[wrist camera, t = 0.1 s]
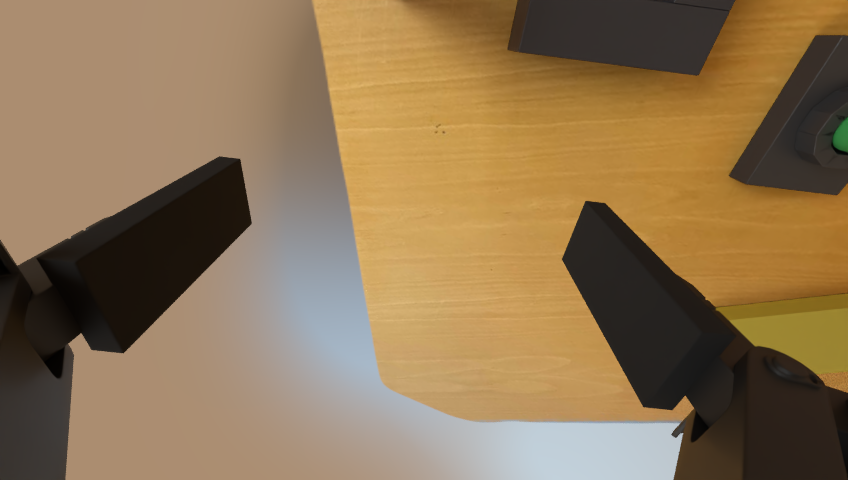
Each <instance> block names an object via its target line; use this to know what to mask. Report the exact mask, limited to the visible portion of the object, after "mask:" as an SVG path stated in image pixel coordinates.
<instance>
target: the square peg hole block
mask: <svg viewBox="0 0 848 480" xmlns="http://www.w3.org/2000/svg"><path fill="white" fill-rule="evenodd" d="M734 2H735V0H518V2H517V7H516V12H515V16H514V21H513V26H512V30H511V35H510V40H509V45H508V50H511V51H516V52H522V53H529V54H537V55H545V56H552V57H560V58H567V59H575V60H582V61H590V62H598V63H605V64H613V65H620V66H628V67H636V68H643V69H651V70H658V71H666V72H673V73H681V74H689V75H696V76H697V75H699V73H700V71H701V69H702V67H703V65H704V63H705V61H706V59H707V57H708V55H709V53H710V51H711V49H712V47H713V45H714V43H715V41H716V39H717V37H718V35H719V33H720V30H721V28H722V26H723V24H724V22H725V20H726V18H727V16H728V14H729V11H730V10H731V8H732V6H733V4H734Z"/></svg>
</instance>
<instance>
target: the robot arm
mask: <svg viewBox="0 0 848 480" xmlns="http://www.w3.org/2000/svg"><path fill="white" fill-rule="evenodd" d="M251 223H252V222H251V216H250V211H249V205H248V200H247V194H246V189H245V183H244V177H243V172H242V167H241V161H240V159H236V158H227V157H218V158H216V159H214V160H212V161H210V162H209V163H207V164H205V165H203V166H201V167H200V168H198V169H196V170H194V171H192V172H191V173H189V174H187V175H185V176H183V177H182V178H180V179H178V180H176V181H174V182H173V183H171V184H169V185H167V186H165V187H164V188H162V189H160V190H158V191H156V192H155V193H153V194H151V195H149V196H147V197H146V198H144V199H142V200H140V201H138V202H137V203H135V204H133V205H131V206H129V207H128V208H126V209H124V210H122V211H120V212H118V213H117V214H115V215H113V216H110V217H108V218H104V219H102V220H100V221H98V222H96V223H95V224H93V225H91V226H89V227H87V228H86V230H85V231H83V230H82V231H80V232H78V233H76V234H75V235H73V236H71V239H65V240H64V241H62V242H60V243H58V244H56V245H55V246H53V247H51V248H49V249H47V250H45V251H44V252H42V253H40V254H38V255H37V256H34V257H33V258H31V259H29V260H27V261H25V262H24V263H22V264H20V265H18V266H17V265H16V263H15V262H14V260H13V259H12V257H11V256H10V254H9V253H8V251H7V249H6V248H5V246H4V245H3V243H2V242H1V240H0V480H65V475H66V461H67V460H66V459H67V446H68V432H69V418H70V403H71V389H72V388H71V387H72V374H73V360H74V354H73V352H72V350H71V348H70V346H69V345H68V343H70V342H71V341H72V340H73V339H74V338H76V337H77V336H78V335H79V334H80V333H82V335H83V336H84V338H85V340H86V341H87V343H88V344H89V346H90V348H91V350H97V351H107V352H116V353H124V352H125V351H126V350H127V349H128V348H129V347H130V346H131V345H132V344H133V343H134V342H135V341H136V340H137V339H138V338H139V337H140V336H141V335H142V334H143V333H144V332H145V331H146V330H147V329H148V328H149V327H150V326H151V325H152V324H153V323H154V322H155V321H156V320H157V319H158V318H159V317H160V316H161V315H162V314H163V313H164V312H165V311H166V310H167V309H168V308H169V307H170V306H171V305H172V304H173V303H174V302H175V300H177V299H178V297H180V296H181V294H183V293H184V292H185V291H186V290H187V289H188V288H189V286H191V284H192V283H193V282H194V281H195V280H196V279H197V278H198V277H199V276H200V275H201V274H202V273H203V272H204V271H205V270H206V269H207V268H208V267H209V266H210V265H211V264H212V263H213V262H214V261H215V260H216V259H217V258H218V257H219V256H220V255H221V254H222V253H223V252H224V251H225V250H226V249H227V248H228V247H229V246H230V245H231V244H232V243H233V242H234V241H235V240H236V239H237V238H238V237H239V236H240V235H241V234H242V233H243V232H244V231H245V230H246V229H247V228H248V227H249V226H250V225H251ZM562 260H563V262H564V264H565V266H566V268H567V270H568V271H569V273H570V275H571V277H572V279H573V280H574V282H575V284H576V286H577V288H578V289H579V291H580V293H581V295H582V297H583V299H584V300H585V302H586V304H587V306H588V308H589V309H590V311H591V313H592V315H593V317H594V318H595V320H596V322H597V324H598V326H599V328H600V329H601V331H602V333H603V335H604V337H605V338H606V340H607V342H608V344H609V346H610V347H611V349H612V351H613V353H614V355H615V356H616V358H617V360H618V362H619V364H620V366H621V367H622V369H623V371H624V373H625V375H626V376H627V378H628V380H629V382H630V384H631V385H632V387H633V389H634V391H635V393H636V395H637V396H638V398H639V400H640V402H641V404H642V405H643V407H647V408H657V409H667V410H673V409H674V408H675V406H676V405H677V404H678V403H679V402H680V401H681V400H682V398H683V397H684V396H685V395H686V397H687V398H688V400H689V401H690V403H691V404H692V406H693V407H694V409H693V410H692V411H691V413H690V414H689V415H688V416H687V417H686V418H685V419H684V420H683V421H682V422H681V423H680V424H679V426H678V427H677V428H676V429H675V430H674V431H673V433H672V436H674V437H675V438H676V437H677V436H678V435H679V434H680V433H683V437H682V442H681V447H680V452H679V456H678V461H677V466H676V471H675V475H674V480H848V393H846V392H843V391H840V390H837V389H834V388H831V387H828V386H825V384H824V382H823V381H822V380H821V379H820V378H819V377H818V376H817V375H816V374H815V373H814V372H813V371H812V370H810V369H809V368H808V367H806V366H805V365H803V364H802V363H801V362H799V361H797V360H795V359H794V358H792V357H790V356H788V355H786V354H784V353H782V352H779V351H777V350H774V349H771V348H767V347H762V346H754V345H753V344H752V343H751V342H750V341H749V340H748V339H747V338H746V337H745V336H744V335H743V334H742V333H741V332H740V331H739V330H738V329H737V328H736V327H735V326H734V325H733V324H732V323H731V322H730V321H729V320H728V319H727V318H726V317H725V316H724V315H723V314H722V313H721V312H720V311H717V310H716V308H715V307H714V306H713V305H712V304H711V303H710V302H709V301H708V300H705V297H704V296H703V295H702V294H701V293H700V292H699V291H698V290H697V289H696V288H695V287H694V286H693V285H692V284H690V283H689V282H687V281H686V280H684V279H682V278H681V277H679V276H678V275H676V274H675V273H674V272H673V271H672V270H671V269H670V268H669V267H668V266H667V265H666V264H665V263H664V262H663V261H662V260H661V259H660V258H659V257H658V256H657V255H656V254H655V253H654V252H653V251H652V250H651V249H650V248H649V247H648V246H647V245H646V244H645V243H644V242H643V241H642V240H641V239H640V238H639V237H638V236H637V235H636V234H635V233H634V232H633V231H632V230H631V229H630V228H629V227H628V226H627V225H626V224H625V223H624V222H623V221H622V220H621V219H620V218H619V217H618V216H617V215H616V214H615V213H614V212H613V211H612V210H611V209H610V208H609V207H608V206H607V205H606V204H605V203H599V202H591V201H585V204H584V206H583V209H582V211H581V214H580V216H579V219H578V221H577V223H576V226H575V228H574V231H573V233H572V236H571V238H570V241H569V243H568V246H567V248H566V251H565V253H564V256H563V258H562Z"/></svg>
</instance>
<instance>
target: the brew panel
mask: <svg viewBox="0 0 848 480" xmlns="http://www.w3.org/2000/svg"><path fill="white" fill-rule="evenodd" d="M846 117H848V36H845V35H817V36H815V38H814V40H813V41H812V43H811V44H810V46H809V48H808V49H807V51H806V52H805V54H804V56H803V57H802V59H801V60H800V62H799V64H798V65H797V67H796V69H795V70H794V72H793V73H792V75H791V77H790V78H789V80H788V81H787V83H786V85H785V86H784V88H783V89H782V91H781V93H780V94H779V96H778V98H777V99H776V101H775V102H774V104H773V106H772V107H771V109H770V110H769V112H768V114H767V115H766V117H765V118H764V120H763V122H762V123H761V125H760V127H759V128H758V130H757V131H756V133H755V135H754V136H753V138H752V139H751V141H750V143H749V144H748V146H747V147H746V149H745V151H744V152H743V154H742V156H741V157H740V159H739V160H738V162H737V164H736V165H735V167H734V168H733V170H732V172H731V173H730V175H729V176H730V177H732V178H734V179H736V180H738V181H740V182H742V183H745V184H749V185H757V186H765V187H773V188H781V189H789V190H798V191H806V192H814V193H822V194H830V195H838V194H839V193H840V191H841V190H842V189H843V188H844V186H845V185H846V184H847V183H848V152H844V151H841V150H838V149H837V148H835V147H834V145H833V142H832V139H833V134H834V132H835V130H836V129H837V128H838V126H839V125H840V124H841V122H842V121H843V120H844V119H845V118H846Z"/></svg>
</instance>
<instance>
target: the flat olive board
mask: <svg viewBox="0 0 848 480" xmlns="http://www.w3.org/2000/svg"><path fill="white" fill-rule="evenodd" d="M716 310H717V311H720V312H721V313H722V314H723V315H724V316H725V317H726V318H727V319H728V320H729V321H730V322H731V323H732V324H733V325H734V326H735V327H736V328H737V329H738V330H739V331H740V332H741V333H742V334H743V335H744V336H745V337H746V338H747V339H748V340H749V341H750V342H751V343H752V344H753V345H754V346H762V347H767V348H771V349H774V350H777V351H779V352H782V353H784V354H786V355H788V356H790V357H792V358H794V359H795V360H797V361H799V362H801V363H802V364H803V365H805V366H806V367H808V368H809V369H810V370H812V371H813V372H814V373H815V374H825V373H837V372H848V293H846V294H837V295H828V296H819V297H809V298H800V299H791V300H782V301H772V302H763V303H754V304H745V305H735V306H726V307H717V308H716Z"/></svg>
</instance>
